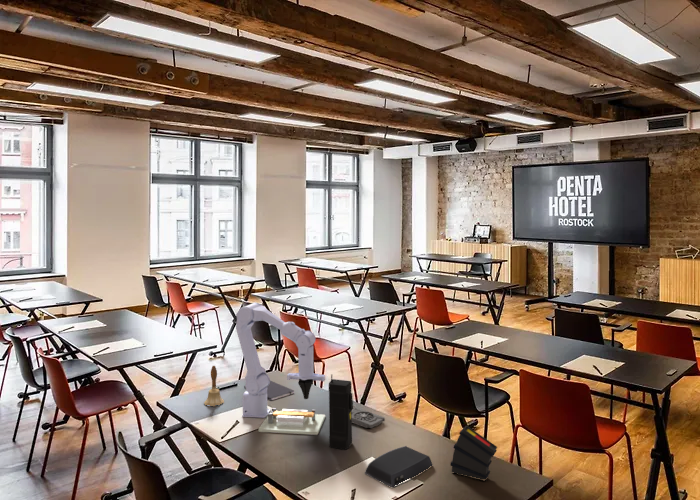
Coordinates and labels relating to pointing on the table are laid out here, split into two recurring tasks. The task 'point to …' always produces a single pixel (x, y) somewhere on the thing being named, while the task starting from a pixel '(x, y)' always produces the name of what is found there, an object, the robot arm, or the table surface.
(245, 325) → the robot arm
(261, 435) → the table surface
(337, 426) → the portable radio
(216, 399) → the hand bell
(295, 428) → the heatsink board
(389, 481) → the external hard drive
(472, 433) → the magazine
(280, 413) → the strap
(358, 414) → the graphics card
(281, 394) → the notebook
